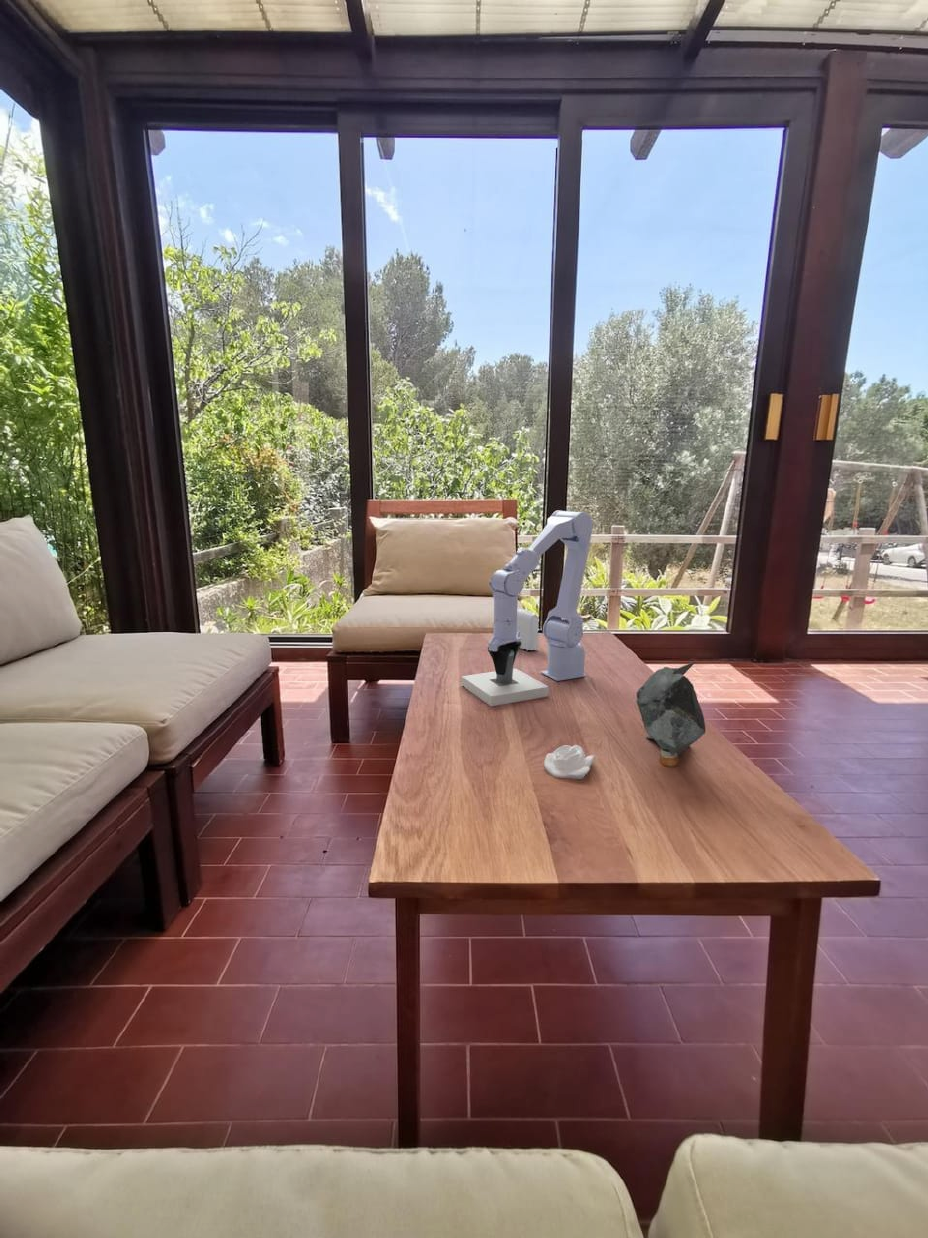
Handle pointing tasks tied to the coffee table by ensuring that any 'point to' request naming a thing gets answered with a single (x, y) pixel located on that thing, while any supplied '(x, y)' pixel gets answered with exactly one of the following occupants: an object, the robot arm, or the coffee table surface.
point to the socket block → (504, 688)
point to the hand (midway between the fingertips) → (504, 671)
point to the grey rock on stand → (671, 712)
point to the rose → (568, 762)
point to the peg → (507, 671)
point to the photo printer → (527, 629)
